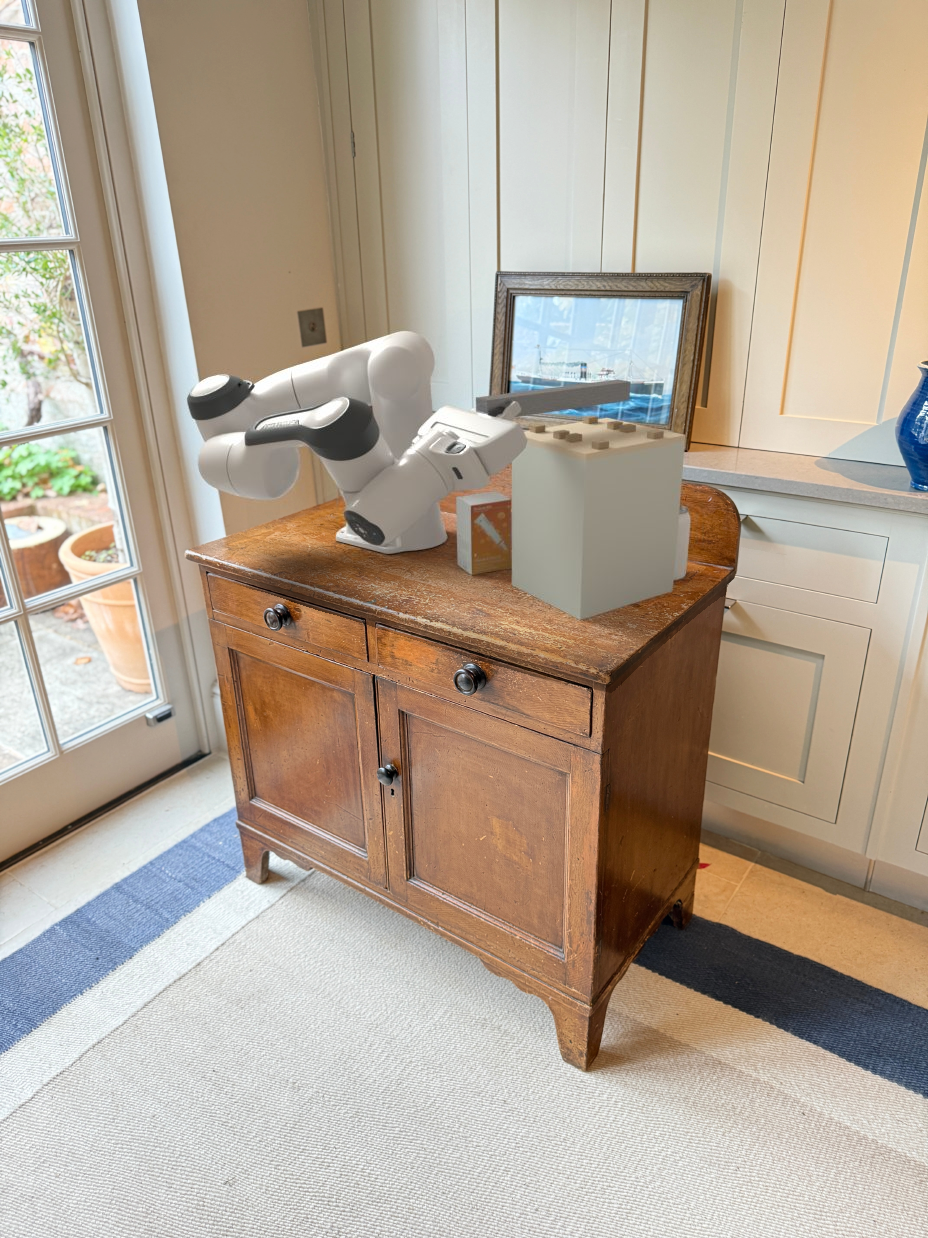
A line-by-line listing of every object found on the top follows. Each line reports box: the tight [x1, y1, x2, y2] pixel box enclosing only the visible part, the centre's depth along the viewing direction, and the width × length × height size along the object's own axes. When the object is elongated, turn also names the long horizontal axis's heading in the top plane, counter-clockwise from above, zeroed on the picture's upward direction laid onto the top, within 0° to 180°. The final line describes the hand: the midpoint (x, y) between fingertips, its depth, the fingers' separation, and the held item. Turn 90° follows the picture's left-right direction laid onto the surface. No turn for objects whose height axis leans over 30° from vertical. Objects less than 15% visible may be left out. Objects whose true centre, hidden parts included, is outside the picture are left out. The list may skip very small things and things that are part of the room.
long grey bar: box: [475, 379, 631, 418], centre depth 131 cm, size 28×3×3 cm, turn 123°
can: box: [673, 504, 691, 582], centre depth 145 cm, size 6×6×12 cm
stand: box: [511, 414, 686, 621], centre depth 137 cm, size 20×18×27 cm
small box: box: [455, 490, 512, 576], centre depth 151 cm, size 8×6×13 cm
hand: (508, 402), depth 126 cm, fingers closed on long grey bar, 3 cm apart
